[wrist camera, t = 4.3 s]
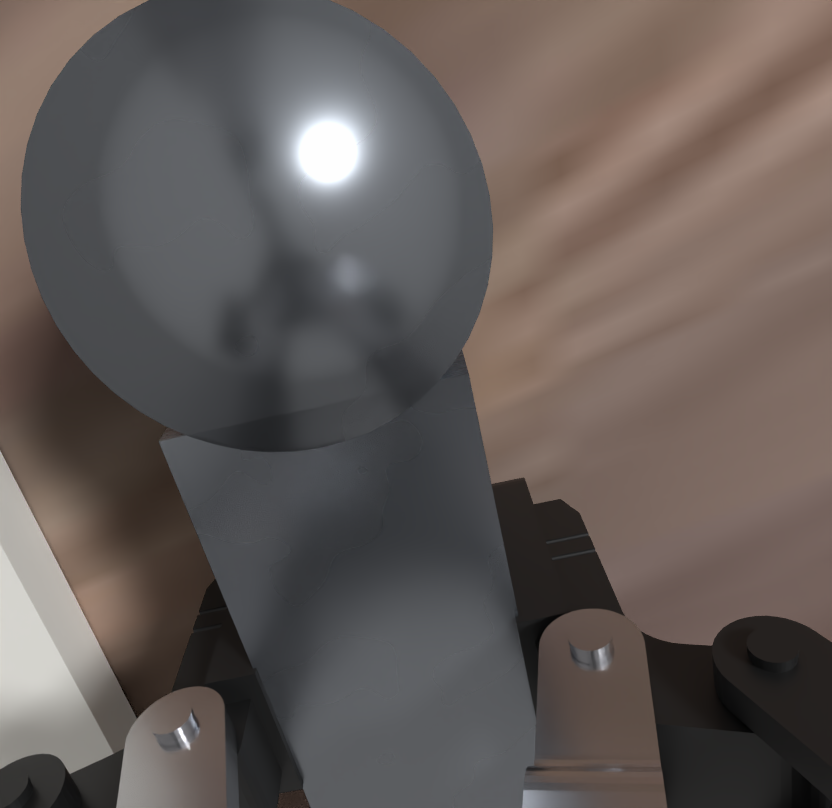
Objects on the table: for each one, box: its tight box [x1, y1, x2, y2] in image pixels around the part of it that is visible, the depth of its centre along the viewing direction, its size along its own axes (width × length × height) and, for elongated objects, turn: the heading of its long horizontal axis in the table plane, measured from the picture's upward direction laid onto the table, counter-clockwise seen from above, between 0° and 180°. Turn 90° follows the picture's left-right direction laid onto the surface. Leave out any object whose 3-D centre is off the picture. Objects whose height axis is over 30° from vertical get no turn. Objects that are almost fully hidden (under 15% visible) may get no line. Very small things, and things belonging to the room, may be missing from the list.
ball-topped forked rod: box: [21, 0, 536, 808], centre depth 12 cm, size 17×6×4 cm, turn 12°
